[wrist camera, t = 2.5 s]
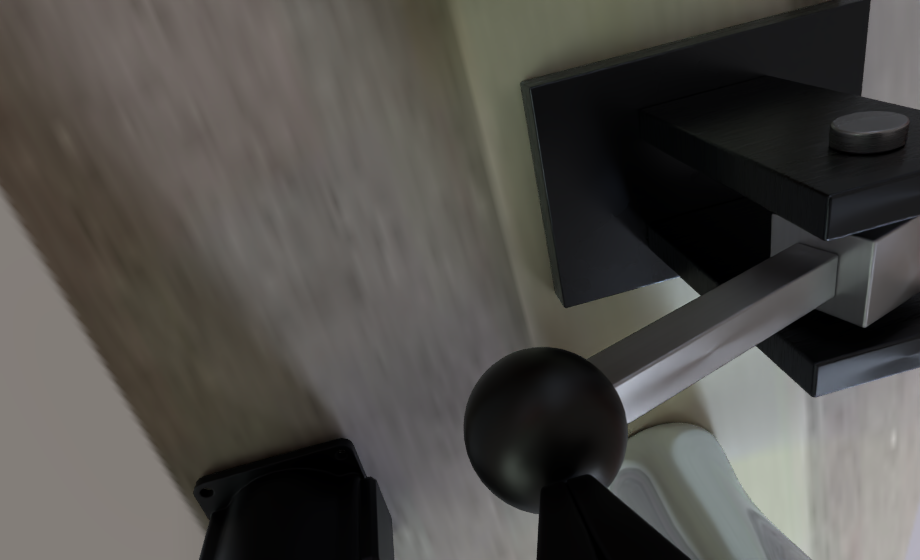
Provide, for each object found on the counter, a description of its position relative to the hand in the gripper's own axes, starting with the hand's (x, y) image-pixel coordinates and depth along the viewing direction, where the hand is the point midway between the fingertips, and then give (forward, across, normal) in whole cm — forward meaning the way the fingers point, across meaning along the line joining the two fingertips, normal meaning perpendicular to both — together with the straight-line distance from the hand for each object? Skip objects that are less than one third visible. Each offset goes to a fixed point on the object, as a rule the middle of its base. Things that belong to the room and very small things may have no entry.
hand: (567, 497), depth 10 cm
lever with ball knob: (+4, -4, 0) cm, 6 cm away
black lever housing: (+13, -9, 0) cm, 15 cm away
